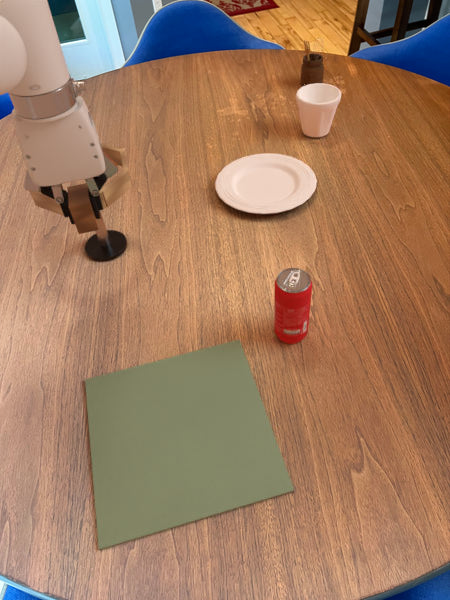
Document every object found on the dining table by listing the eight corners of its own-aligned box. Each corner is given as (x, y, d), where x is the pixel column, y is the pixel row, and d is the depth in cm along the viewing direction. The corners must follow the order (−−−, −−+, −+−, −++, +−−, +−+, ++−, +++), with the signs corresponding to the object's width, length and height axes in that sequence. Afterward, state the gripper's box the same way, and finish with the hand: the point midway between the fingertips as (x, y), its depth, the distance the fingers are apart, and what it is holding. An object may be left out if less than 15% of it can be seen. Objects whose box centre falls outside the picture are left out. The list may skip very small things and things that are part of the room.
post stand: (87, 265, 88) (72, 229, 81) (84, 238, 93) (70, 201, 86) (130, 255, 89) (118, 218, 82) (124, 229, 94) (113, 192, 87)
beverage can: (269, 341, 74) (269, 288, 65) (279, 316, 77) (281, 263, 68) (302, 350, 72) (307, 297, 63) (311, 324, 75) (316, 270, 66)
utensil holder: (327, 82, 129) (331, 35, 120) (312, 91, 126) (316, 43, 117) (309, 77, 132) (312, 30, 123) (295, 85, 129) (297, 38, 120)
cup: (340, 142, 109) (344, 102, 102) (296, 144, 110) (297, 105, 103) (334, 119, 116) (338, 81, 109) (292, 122, 116) (294, 84, 109)
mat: (99, 550, 56) (98, 549, 55) (85, 380, 71) (84, 379, 71) (294, 491, 59) (294, 490, 58) (239, 340, 74) (239, 339, 74)
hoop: (35, 243, 71) (22, 216, 67) (35, 169, 84) (25, 143, 81) (140, 220, 73) (134, 193, 69) (124, 151, 86) (118, 125, 83)
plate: (300, 153, 107) (300, 146, 106) (329, 210, 93) (330, 202, 92) (208, 168, 106) (208, 161, 104) (224, 228, 92) (224, 220, 91)
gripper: (107, 73, 62) (135, 191, 76) (-22, 96, 60) (31, 213, 74) (113, 98, 57) (142, 219, 71) (-28, 124, 55) (30, 243, 69)
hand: (85, 215), depth 72 cm, fingers closed on hoop, 3 cm apart
